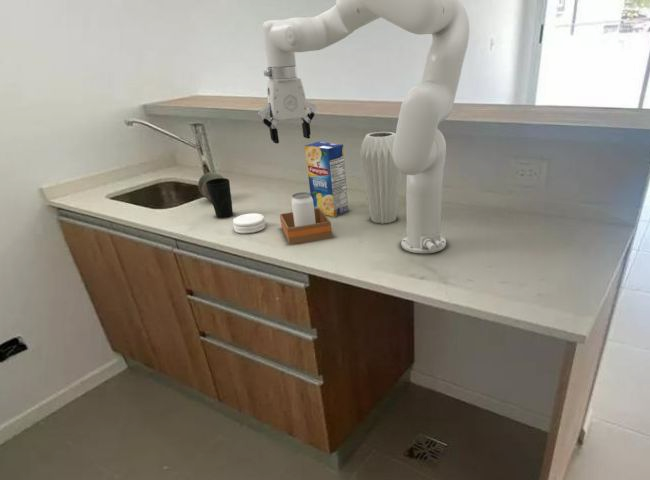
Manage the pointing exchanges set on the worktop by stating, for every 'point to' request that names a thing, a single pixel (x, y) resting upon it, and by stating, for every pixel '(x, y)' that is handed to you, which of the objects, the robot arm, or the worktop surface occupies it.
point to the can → (303, 209)
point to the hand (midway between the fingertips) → (291, 140)
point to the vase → (380, 176)
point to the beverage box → (327, 177)
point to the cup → (220, 197)
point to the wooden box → (306, 228)
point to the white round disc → (249, 223)
